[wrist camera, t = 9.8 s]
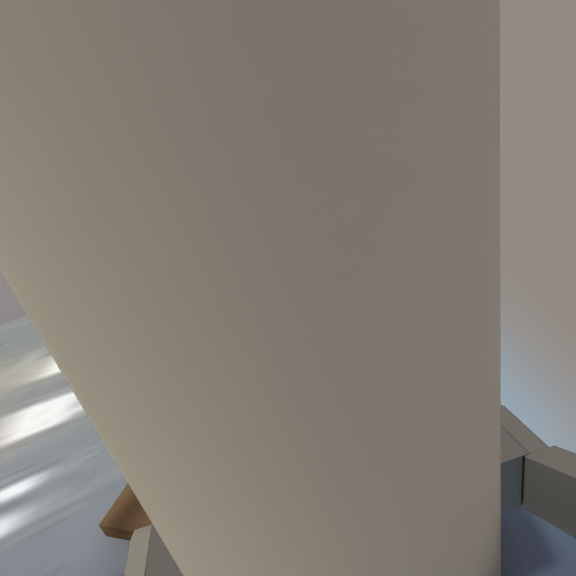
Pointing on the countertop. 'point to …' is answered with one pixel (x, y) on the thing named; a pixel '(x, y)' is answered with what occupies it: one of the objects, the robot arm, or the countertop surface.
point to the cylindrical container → (270, 268)
